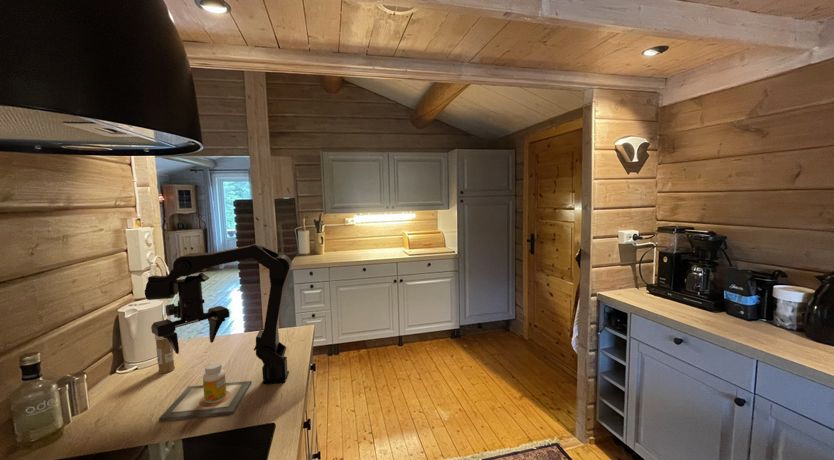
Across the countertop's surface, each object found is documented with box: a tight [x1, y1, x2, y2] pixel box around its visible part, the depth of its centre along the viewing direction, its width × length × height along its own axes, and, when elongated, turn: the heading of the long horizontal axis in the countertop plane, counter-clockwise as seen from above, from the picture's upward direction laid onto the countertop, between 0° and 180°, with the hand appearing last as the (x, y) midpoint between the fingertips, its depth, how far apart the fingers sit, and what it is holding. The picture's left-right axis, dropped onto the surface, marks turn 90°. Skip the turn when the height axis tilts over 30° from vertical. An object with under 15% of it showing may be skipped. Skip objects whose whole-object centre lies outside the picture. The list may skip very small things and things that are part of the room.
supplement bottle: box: [202, 361, 227, 403], centre depth 96 cm, size 5×5×10 cm
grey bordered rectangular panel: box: [158, 380, 253, 422], centre depth 97 cm, size 18×15×1 cm
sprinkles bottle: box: [154, 334, 176, 374], centre depth 113 cm, size 5×5×13 cm
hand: (195, 347), depth 101 cm, fingers open, 9 cm apart
